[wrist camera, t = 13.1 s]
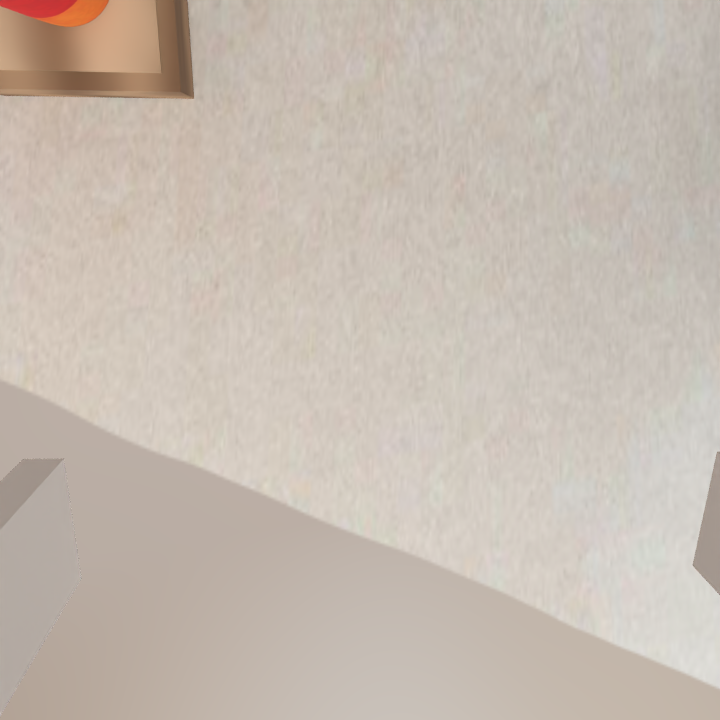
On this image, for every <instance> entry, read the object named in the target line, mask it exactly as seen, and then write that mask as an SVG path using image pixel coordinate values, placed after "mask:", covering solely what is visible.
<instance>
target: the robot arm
mask: <svg viewBox="0 0 720 720" xmlns="http://www.w3.org/2000/svg"><path fill="white" fill-rule="evenodd" d="M693 566H694V567H695V569H696V570H697V571H698V572H699V573H700V574H701V575H702V576H703V577H704V578H705V579H706V581H707V582H708V583H709V584H710V585H711V586H712V587H713V588H714V589H715V590H716V591H717V593H718V594H719V595H720V452H717V455H716V459H715V464H714V469H713V473H712V478H711V482H710V487H709V492H708V496H707V501H706V506H705V510H704V515H703V520H702V524H701V529H700V534H699V538H698V543H697V548H696V552H695V557H694V561H693ZM80 580H81V572H80V565H79V558H78V552H77V545H76V538H75V531H74V525H73V518H72V511H71V505H70V497H69V491H68V484H67V477H66V470H65V463H64V459H23V460H22V461H21V462H20V463H19V464H18V465H17V466H16V467H15V468H13V469H12V471H10V473H8V474H7V475H6V476H5V477H4V478H3V479H2V480H1V481H0V716H1V714H2V712H3V710H4V709H5V707H6V705H7V703H8V702H9V700H10V699H11V697H12V695H13V694H14V692H15V690H16V688H17V687H18V685H19V683H20V682H21V680H22V678H23V676H24V675H25V673H26V671H27V670H28V668H29V666H30V665H31V663H32V661H33V660H34V658H35V656H36V655H37V653H38V651H39V650H40V648H41V646H42V644H43V643H44V641H45V639H46V638H47V636H48V634H49V632H50V631H51V629H52V628H53V626H54V624H55V622H56V621H57V619H58V617H59V616H60V614H61V612H62V611H63V609H64V607H65V606H66V604H67V602H68V600H69V599H70V597H71V595H72V594H73V592H74V590H75V588H76V587H77V585H78V583H79V582H80Z"/></svg>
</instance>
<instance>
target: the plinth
mask: <svg viewBox="0 0 720 720" xmlns="http://www.w3.org/2000/svg"><path fill="white" fill-rule="evenodd" d="M0 95H4V96H63V97H124V98H184V99H194V92H193V77H192V62H191V47H190V33H189V18H188V3H187V0H109V2H108V4H107V5H106V7H105V9H104V10H103V11H102V13H101V14H100V15H99V16H98V17H96V18H95V19H94V20H92V21H91V22H89V23H87V24H84V25H81V26H75V27H64V26H58V25H54V24H50V23H47V22H44V21H40V20H37V19H35V18H32V17H29V16H26V15H23V14H20V13H18V12H15V11H12V10H9V9H7V8H4V7H1V6H0Z"/></svg>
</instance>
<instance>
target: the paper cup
mask: <svg viewBox="0 0 720 720" xmlns="http://www.w3.org/2000/svg"><path fill="white" fill-rule="evenodd" d="M108 2H109V0H0V6H1V7H4V8H7V9H9V10H12V11H15V12H18V13H20V14H23V15H26V16H29V17H32V18H35V19H37V20H40V21H44V22H47V23H50V24H54V25H58V26H64V27H75V26H81V25H84V24H87V23H89V22H91V21H92V20H94V19H95V18H96V17H98V16H99V15H100V14H101V13H102V11H103V10H104V9H105V7H106V5H107V4H108Z"/></svg>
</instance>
